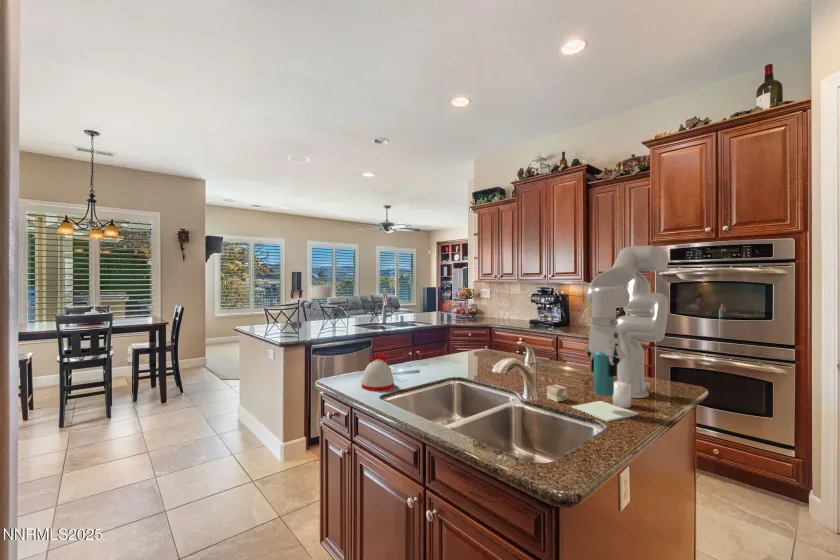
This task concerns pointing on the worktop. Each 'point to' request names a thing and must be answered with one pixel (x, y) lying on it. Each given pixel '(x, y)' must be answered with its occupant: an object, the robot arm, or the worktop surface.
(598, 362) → the beverage bottle
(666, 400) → the worktop surface
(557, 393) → the birch block
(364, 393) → the worktop surface
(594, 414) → the sage mat
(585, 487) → the worktop surface
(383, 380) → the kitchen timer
